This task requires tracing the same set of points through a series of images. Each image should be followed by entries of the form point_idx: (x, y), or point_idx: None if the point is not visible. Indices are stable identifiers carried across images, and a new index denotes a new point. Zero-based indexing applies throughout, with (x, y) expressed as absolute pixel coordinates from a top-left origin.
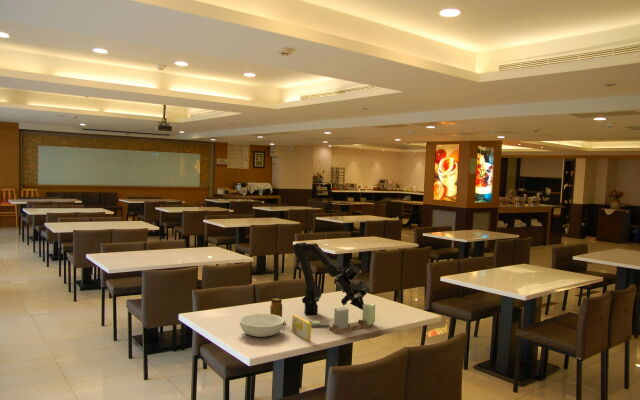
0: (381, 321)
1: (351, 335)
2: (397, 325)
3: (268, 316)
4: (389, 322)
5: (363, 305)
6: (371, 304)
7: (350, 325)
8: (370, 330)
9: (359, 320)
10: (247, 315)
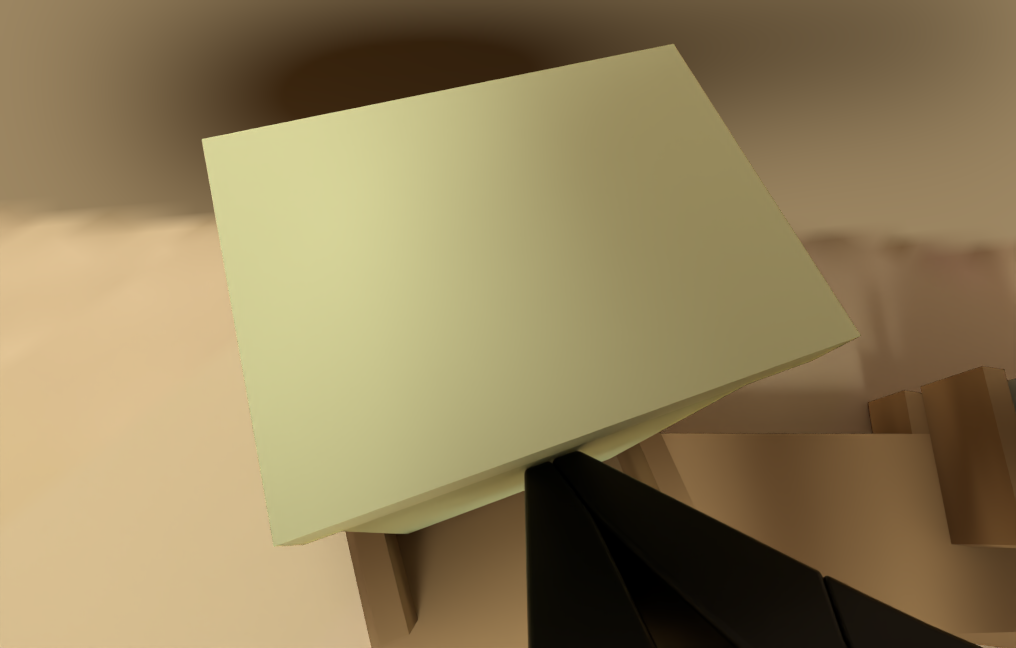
0: (51, 540)
1: (920, 270)
2: (73, 232)
3: None
4: (5, 408)
5: (828, 296)
6: (386, 211)
7: (852, 508)
8: None
9: (681, 486)
10: None
